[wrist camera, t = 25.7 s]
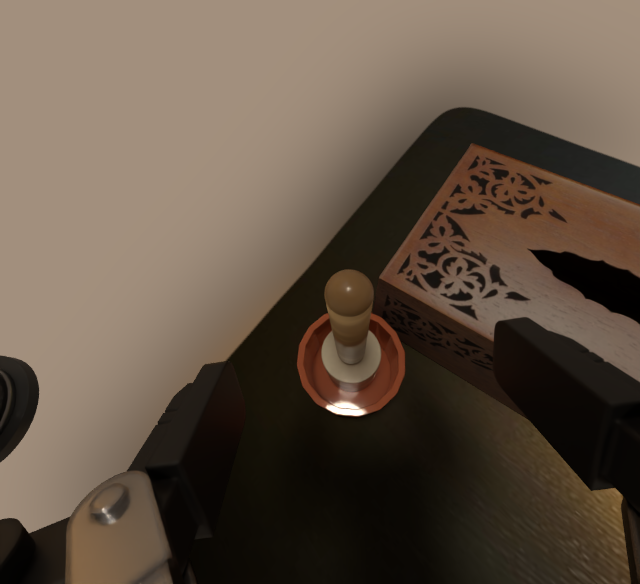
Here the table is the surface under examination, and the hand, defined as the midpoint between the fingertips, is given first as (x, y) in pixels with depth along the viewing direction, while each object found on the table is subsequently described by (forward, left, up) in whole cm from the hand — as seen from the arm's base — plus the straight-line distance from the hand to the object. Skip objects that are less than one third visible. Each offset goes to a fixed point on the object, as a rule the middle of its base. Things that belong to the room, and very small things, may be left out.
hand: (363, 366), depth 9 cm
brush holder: (0, +3, -20) cm, 20 cm away
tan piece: (+1, +3, -19) cm, 19 cm away
